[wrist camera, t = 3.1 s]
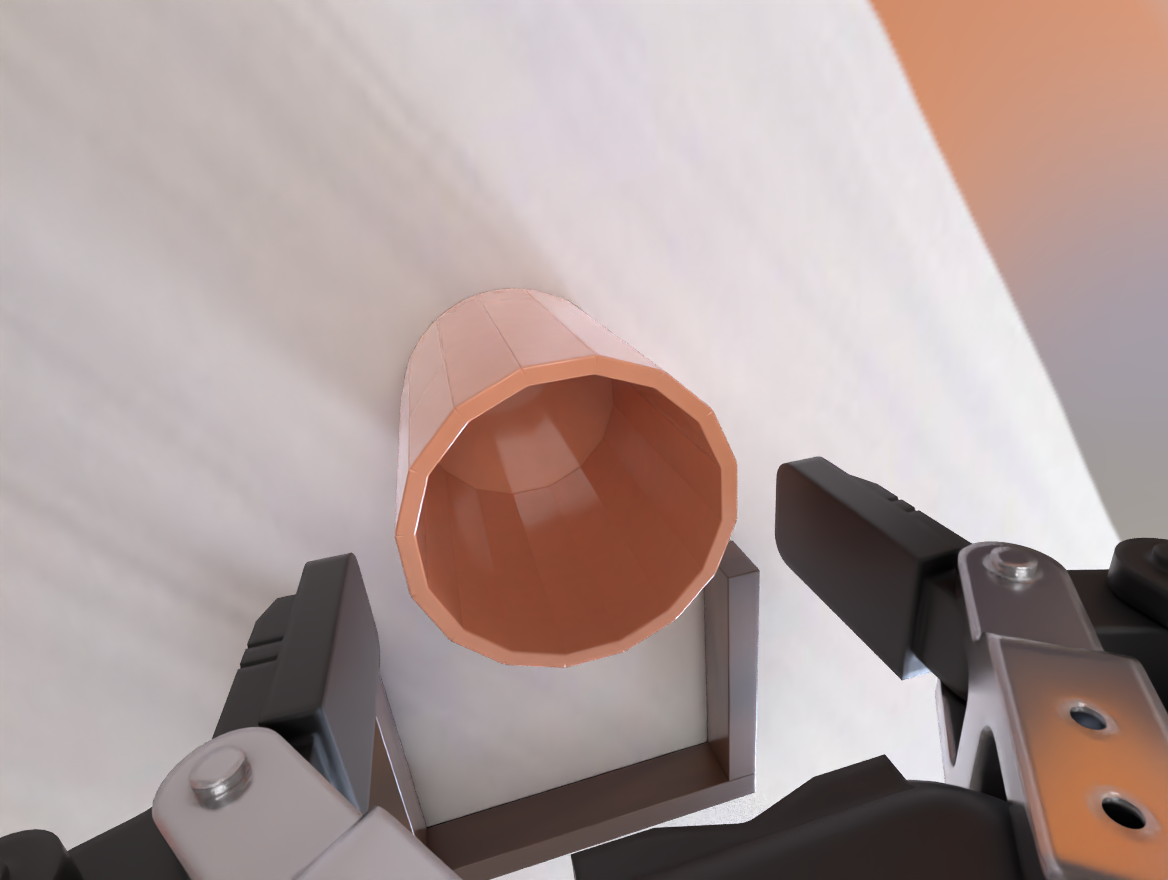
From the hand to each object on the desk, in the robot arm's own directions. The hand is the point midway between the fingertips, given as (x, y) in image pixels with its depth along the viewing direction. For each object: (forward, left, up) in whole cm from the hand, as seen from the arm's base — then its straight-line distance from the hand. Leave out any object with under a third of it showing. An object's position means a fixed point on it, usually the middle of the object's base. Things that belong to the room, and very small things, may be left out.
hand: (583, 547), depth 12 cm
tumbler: (0, 0, -8) cm, 8 cm away
